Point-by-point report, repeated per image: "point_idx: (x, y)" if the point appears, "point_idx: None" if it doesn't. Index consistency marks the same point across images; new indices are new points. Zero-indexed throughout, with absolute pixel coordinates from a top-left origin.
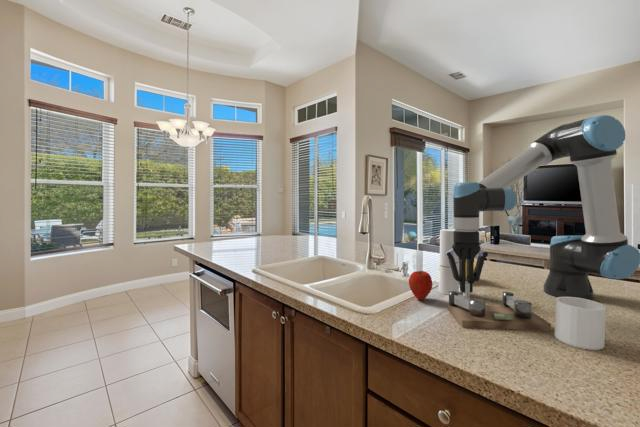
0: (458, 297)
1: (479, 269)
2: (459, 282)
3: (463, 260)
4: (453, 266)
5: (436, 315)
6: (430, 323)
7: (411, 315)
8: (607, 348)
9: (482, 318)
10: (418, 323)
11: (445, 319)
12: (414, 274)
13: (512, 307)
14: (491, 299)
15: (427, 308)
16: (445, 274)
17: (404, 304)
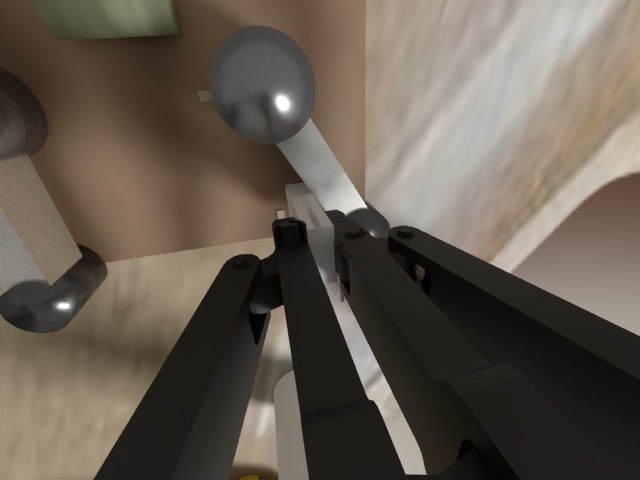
0: (352, 184)
1: (206, 342)
2: (250, 476)
3: (510, 391)
4: (541, 295)
5: (421, 133)
6: (480, 17)
7: (519, 110)
8: None
9: (244, 27)
10: (530, 8)
11: (399, 88)
12: None
13: (44, 193)
14: (157, 369)
15: (430, 207)
16: None
17: (497, 229)
